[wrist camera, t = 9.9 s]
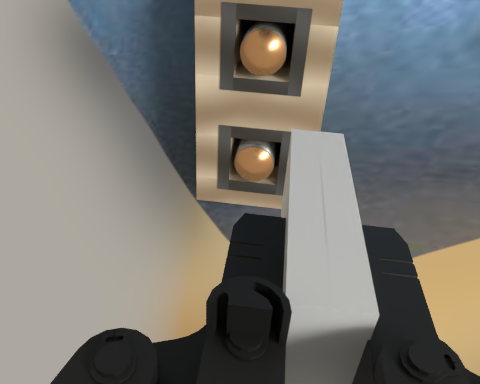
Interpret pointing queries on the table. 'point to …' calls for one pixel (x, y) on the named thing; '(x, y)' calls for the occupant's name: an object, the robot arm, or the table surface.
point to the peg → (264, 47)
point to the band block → (257, 91)
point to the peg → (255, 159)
